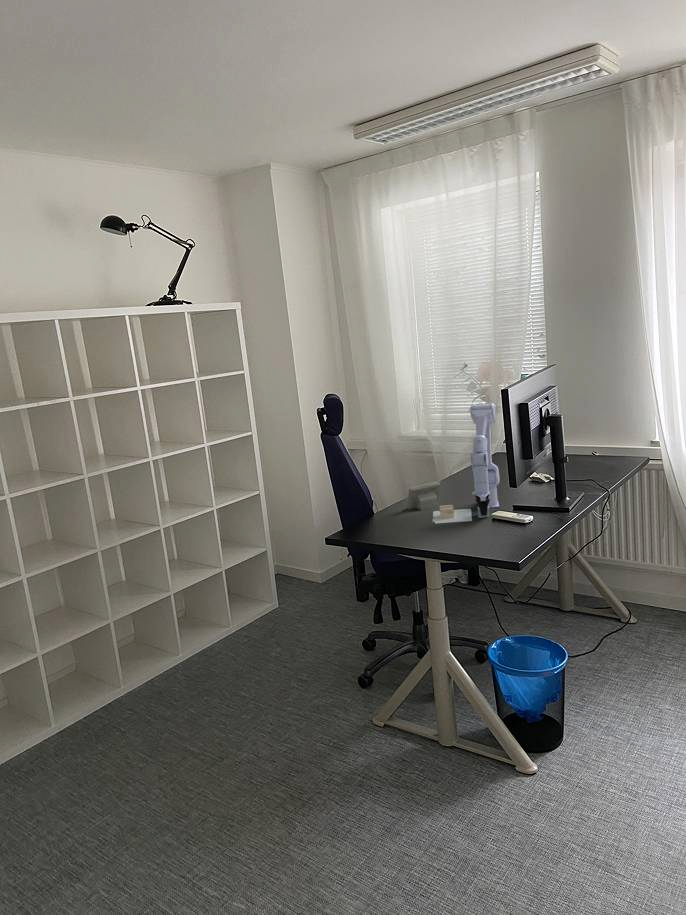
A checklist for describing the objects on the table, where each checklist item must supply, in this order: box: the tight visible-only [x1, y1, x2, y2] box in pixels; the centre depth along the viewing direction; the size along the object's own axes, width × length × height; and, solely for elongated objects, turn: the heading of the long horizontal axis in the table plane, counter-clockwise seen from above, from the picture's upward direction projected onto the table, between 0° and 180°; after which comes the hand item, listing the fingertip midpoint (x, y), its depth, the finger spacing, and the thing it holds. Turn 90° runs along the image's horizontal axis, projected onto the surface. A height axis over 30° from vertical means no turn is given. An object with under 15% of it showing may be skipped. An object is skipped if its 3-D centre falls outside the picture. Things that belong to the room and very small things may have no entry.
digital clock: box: [406, 481, 441, 511], centre depth 315 cm, size 16×9×11 cm, turn 103°
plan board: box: [432, 508, 473, 524], centre depth 297 cm, size 18×16×1 cm
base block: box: [439, 504, 455, 519], centre depth 296 cm, size 6×6×4 cm
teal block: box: [477, 505, 491, 519], centre depth 291 cm, size 4×4×4 cm
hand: (483, 513), depth 291 cm, fingers closed on teal block, 4 cm apart
